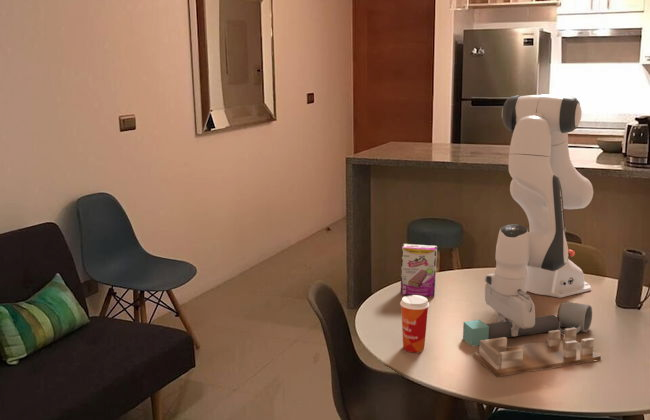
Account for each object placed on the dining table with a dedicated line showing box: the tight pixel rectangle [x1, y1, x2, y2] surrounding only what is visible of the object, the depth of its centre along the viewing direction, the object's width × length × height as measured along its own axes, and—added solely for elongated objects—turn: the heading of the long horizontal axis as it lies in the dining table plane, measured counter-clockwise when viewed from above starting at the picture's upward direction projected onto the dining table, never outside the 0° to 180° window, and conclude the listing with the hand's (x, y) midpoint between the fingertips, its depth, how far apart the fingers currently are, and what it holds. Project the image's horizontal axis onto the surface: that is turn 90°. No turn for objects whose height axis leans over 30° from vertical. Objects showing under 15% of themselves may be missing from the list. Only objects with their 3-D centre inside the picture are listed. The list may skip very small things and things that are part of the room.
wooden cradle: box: [473, 327, 602, 377], centre depth 174 cm, size 30×12×5 cm, turn 107°
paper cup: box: [399, 295, 430, 354], centre depth 179 cm, size 8×8×14 cm
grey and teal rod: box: [462, 314, 559, 347], centre depth 188 cm, size 28×5×5 cm, turn 107°
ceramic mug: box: [556, 301, 593, 335], centre depth 191 cm, size 11×8×8 cm
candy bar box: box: [400, 243, 438, 298], centre depth 219 cm, size 11×5×16 cm, turn 78°
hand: (507, 331), depth 188 cm, fingers closed on grey and teal rod, 4 cm apart
